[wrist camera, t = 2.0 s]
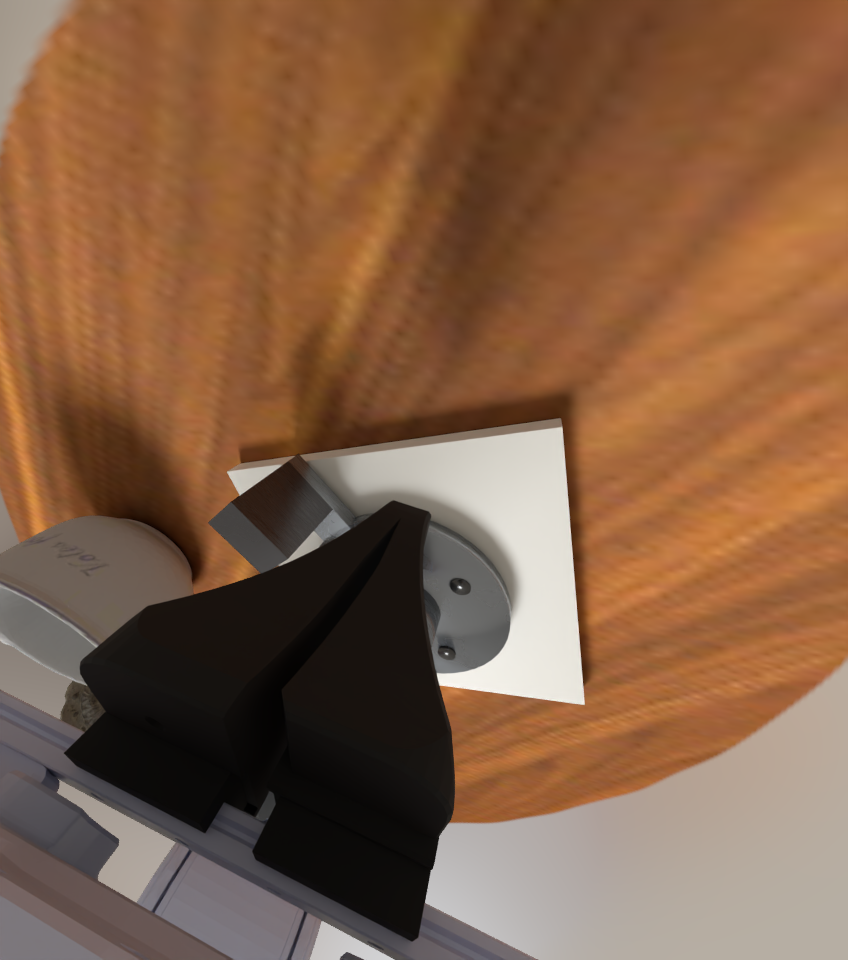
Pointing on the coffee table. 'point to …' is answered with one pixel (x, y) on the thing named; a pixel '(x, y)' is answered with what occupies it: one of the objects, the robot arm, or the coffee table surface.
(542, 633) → the base plate
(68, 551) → the teacup
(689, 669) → the coffee table surface
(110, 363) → the coffee table surface
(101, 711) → the fossil
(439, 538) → the flange plate
